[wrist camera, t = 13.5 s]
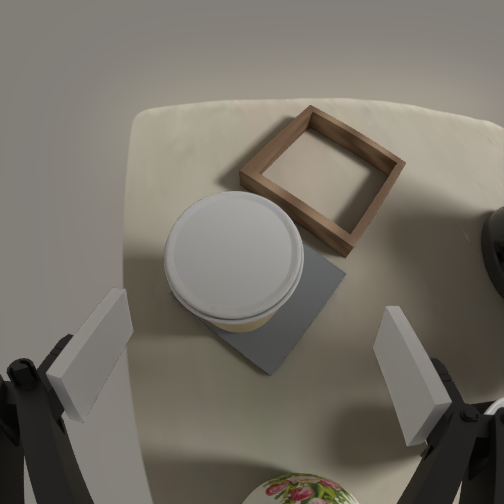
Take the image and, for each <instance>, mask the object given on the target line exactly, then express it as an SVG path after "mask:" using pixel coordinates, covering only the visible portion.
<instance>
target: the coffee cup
mask: <svg viewBox="0 0 504 504" xmlns="http://www.w3.org/2000/svg"><path fill="white" fill-rule="evenodd" d="M303 263H304V251H303V244H302V240H301V237H300V234H299V232H298V230H297V228H296V226H295V224H294V223H293V221H292V220H291V219H290V217H289V216H288V215H287V214H286V213H285V212H284V211H283V210H282V209H281V208H280V207H279V206H277V205H276V204H275V203H273V202H272V201H270V200H268V199H266V198H264V197H262V196H259V195H256V194H253V193H248V192H242V191H227V192H220V193H216V194H213V195H210V196H207V197H205V198H203V199H201V200H199V201H197V202H196V203H194V204H193V205H191V206H190V207H189V208H188V209H186V210H185V211H184V212H183V213H182V215H181V216H180V217H179V218H178V220H177V221H176V222H175V224H174V226H173V227H172V229H171V231H170V234H169V236H168V238H167V242H166V245H165V250H164V269H165V274H166V278H167V281H168V283H169V286H170V288H171V290H172V291H173V293H174V295H175V296H176V297H177V299H178V300H179V301H180V302H181V303H182V304H183V305H184V306H185V307H186V308H187V309H188V310H190V311H191V312H193V313H194V314H196V315H197V316H199V317H201V318H203V319H206V320H207V321H209V322H211V323H212V324H214V325H216V326H217V327H219V328H221V329H224V330H226V331H229V332H235V333H244V332H249V331H253V330H255V329H258V328H259V327H261V326H263V325H264V324H265V323H266V322H267V321H269V319H270V318H271V317H272V316H273V315H274V314H275V313H276V311H277V310H278V309H279V308H280V307H281V306H282V305H283V304H284V303H285V302H286V301H287V300H288V299H289V298H290V296H291V295H292V293H293V292H294V290H295V289H296V287H297V285H298V283H299V280H300V277H301V274H302V270H303Z"/></svg>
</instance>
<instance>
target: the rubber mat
mask: <svg viewBox="0 0 504 504" xmlns="http://www.w3.org/2000/svg"><path fill="white" fill-rule="evenodd" d="M302 244H303V251H304V263H303V270H302V274H301V277H300V280H299V283H298V285H297V287H296V289H295V290H294V292H293V293H292V295H291V296H290V298H289V299H288V300H287V301H286V302H285V303H284V304H283V305H282V306H281V307H280V308H279V309H278V310H277V311H276V313H275V314H274V315H273V316H272V317H271V318H270V319H269V321H267V322H266V323H265V324H264V325H263V326H261V327H259V328H258V329H255V330H253V331H249V332H244V333H235V332H229V331H226V330H224V329H221V328H219V327H217V326H216V325H214V324H212V323H211V322H209V321H207V320H206V319H203V318H201V317H199V316H197V315H196V314H194V313H193V312H191V311H190V310H189V311H190V312H191V313H192V314H194V315H195V316H196V317H197V318H198V319H199V320H201V321H202V322H203V323H204V324H205V325H207V326H208V327H209V328H210V329H211V330H213V331H214V332H215V333H216V334H217V335H219V336H220V337H221V338H222V339H224V340H225V341H226V342H227V343H229V344H230V345H231V346H232V347H234V348H235V349H236V350H237V351H239V352H240V353H241V354H242V355H244V356H245V357H246V358H248V359H249V360H250V361H251V362H253V363H254V364H255V365H257V366H258V367H259V368H261V369H262V370H263V371H264V372H266V373H267V374H268V375H270V376H271V375H272V374H273V372H274V371H275V370H276V369H277V367H278V366H279V365H280V364H281V362H282V361H283V360H284V359H285V357H286V356H287V355H288V353H289V352H290V351H291V350H292V348H293V347H294V346H295V344H296V343H297V342H298V340H299V339H300V338H301V337H302V335H303V334H304V333H305V331H306V330H307V329H308V327H309V326H310V324H311V323H312V322H313V320H314V319H315V318H316V316H317V315H318V314H319V312H320V311H321V309H322V308H323V307H324V305H325V304H326V302H327V301H328V300H329V298H330V297H331V295H332V294H333V292H334V291H335V290H336V288H337V287H338V285H339V284H340V282H341V281H342V279H343V278H344V276H345V275H346V273H344V272H343V271H342V270H340V269H339V268H337V267H336V266H335V265H333V264H332V263H331V262H329V261H328V260H326V259H325V258H324V257H322V256H321V255H320V254H318V253H317V252H315V251H314V250H313V249H311V248H310V247H308V246H307V245H306V244H304V243H303V242H302ZM170 294H171V295H172V296H173V297H174V298H175V299H176V300H177V301H178V302H180V301H179V300H178V299H177V297H176V296H175V295H174V293H173V291H171V292H170ZM180 303H181V302H180ZM181 304H182V303H181ZM182 305H183V304H182ZM183 306H184V305H183ZM184 307H185V306H184ZM185 308H186V307H185Z"/></svg>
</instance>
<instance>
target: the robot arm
mask: <svg viewBox="0 0 504 504" xmlns="http://www.w3.org/2000/svg"><path fill="white" fill-rule="evenodd" d="M482 251H483V256H484V261H485V264H486V268H487V270H488V273H489V275H490V278H491V280H492V282H493V284H494V285H495V287H496V289H497V290H498V292H499V293H500V294H501V295H502V297H503V298H504V207H501V208H499V209H498V210H496V211H495V212H494V213H493V214H492V215H491V216H489V217H488V219H487V220H486V222H485V224H484V227H483V231H482ZM133 332H134V331H133V326H132V321H131V316H130V310H129V305H128V299H127V293H126V289H122V288H114V287H113V288H112V289H111V290H110V292H109V293H108V294H107V295H106V296H105V298H104V299H103V300H102V301H101V302H100V304H99V305H98V306H97V307H96V309H95V310H94V311H93V312H92V313H91V315H90V316H89V317H88V318H87V320H86V321H85V322H84V323H83V325H82V326H81V327H80V328H79V330H78V331H77V332H76V333H75V335H70V334H68V335H67V336H65V337H64V338H62V339H61V340H60V341H59V342H58V343H57V344H56V346H55V348H54V349H52V351H51V352H50V354H49V355H48V356H47V357H46V359H45V360H44V361H43V363H42V364H41V365H40V366H39V368H38V369H37V370H36V368H35V366H34V364H33V362H32V361H31V360H29V359H26V358H22V359H18V360H15V361H14V362H12V363H11V364H10V365H9V367H8V368H7V374H8V376H9V378H10V380H11V381H4V380H3V378H2V377H1V375H0V504H24V456H25V460H26V465H27V469H28V473H29V477H30V481H31V484H32V488H33V491H34V495H35V499H36V502H37V504H94V502H93V500H92V498H91V496H90V494H89V491H88V489H87V486H86V484H85V481H84V479H83V477H82V474H81V471H80V469H79V466H78V463H77V461H76V458H75V455H74V452H73V449H72V446H71V443H70V440H69V437H68V434H67V431H66V428H65V424H64V420H63V419H62V417H61V415H62V413H63V412H64V410H65V412H66V413H67V415H68V417H69V418H70V419H73V420H76V421H79V422H82V423H84V422H85V420H86V418H87V416H88V414H89V412H90V410H91V408H92V406H93V404H94V403H95V401H96V399H97V397H98V395H99V393H100V391H101V389H102V387H103V386H104V384H105V382H106V380H107V378H108V376H109V375H110V373H111V371H112V369H113V367H114V366H115V364H116V362H117V360H118V358H119V357H120V355H121V353H122V351H123V350H124V348H125V346H126V344H127V343H128V341H129V339H130V337H131V336H132V334H133ZM373 350H374V353H375V355H376V358H377V361H378V363H379V366H380V369H381V371H382V374H383V377H384V380H385V382H386V385H387V388H388V391H389V394H390V396H391V399H392V402H393V405H394V408H395V411H396V414H397V417H398V420H399V423H400V426H401V429H402V432H403V436H404V439H405V442H406V445H407V447H408V446H414V445H419V444H423V442H424V441H425V440H426V438H427V437H428V436H429V438H430V441H431V443H430V444H429V446H428V447H427V448H426V449H425V451H424V452H423V453H422V454H421V457H422V459H421V461H420V463H419V465H418V467H417V469H416V471H415V473H414V475H413V477H412V478H411V480H410V482H409V484H408V486H407V487H406V489H405V491H404V492H403V494H402V496H401V497H400V499H399V501H398V502H397V504H452V503H453V501H454V498H455V496H456V494H457V491H458V489H459V486H460V484H461V481H462V486H461V493H460V499H459V504H504V407H500V408H498V409H497V411H496V412H495V413H494V415H488V414H480V413H479V411H478V410H477V409H476V407H474V406H472V405H470V404H465V403H464V401H463V399H462V397H461V395H460V393H459V391H458V390H457V388H456V386H455V384H454V382H453V381H452V378H451V377H450V375H448V371H447V369H446V368H445V366H444V365H443V364H442V363H441V362H440V361H439V360H438V359H437V358H433V359H429V357H428V355H427V353H426V351H425V350H424V348H423V346H422V344H421V342H420V341H419V339H418V337H417V335H416V334H415V332H414V330H413V329H412V327H411V325H410V323H409V322H408V320H407V318H406V317H405V315H404V313H403V312H402V310H401V308H400V307H399V306H386V307H385V311H384V314H383V317H382V321H381V324H380V327H379V330H378V333H377V336H376V339H375V342H374V345H373Z"/></svg>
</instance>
